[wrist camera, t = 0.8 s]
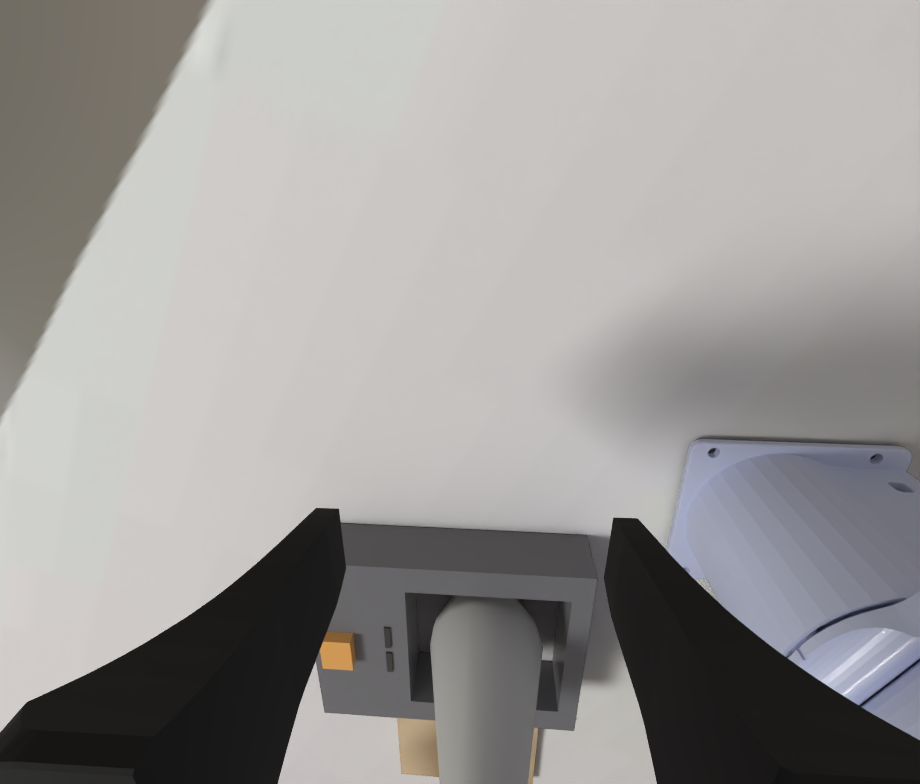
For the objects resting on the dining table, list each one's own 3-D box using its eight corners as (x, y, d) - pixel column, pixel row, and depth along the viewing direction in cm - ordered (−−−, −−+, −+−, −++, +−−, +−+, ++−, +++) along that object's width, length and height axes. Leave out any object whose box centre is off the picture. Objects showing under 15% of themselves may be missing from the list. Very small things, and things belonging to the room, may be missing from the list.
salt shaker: (444, 559, 27) (402, 867, 15) (549, 578, 27) (588, 900, 15) (429, 634, 29) (382, 950, 17) (524, 651, 29) (543, 978, 17)
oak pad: (541, 688, 30) (541, 696, 30) (531, 776, 34) (532, 784, 34) (396, 679, 31) (394, 686, 31) (402, 766, 35) (401, 773, 34)
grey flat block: (586, 535, 25) (599, 589, 22) (567, 679, 30) (575, 742, 27) (320, 522, 26) (295, 572, 23) (339, 664, 31) (321, 723, 28)
